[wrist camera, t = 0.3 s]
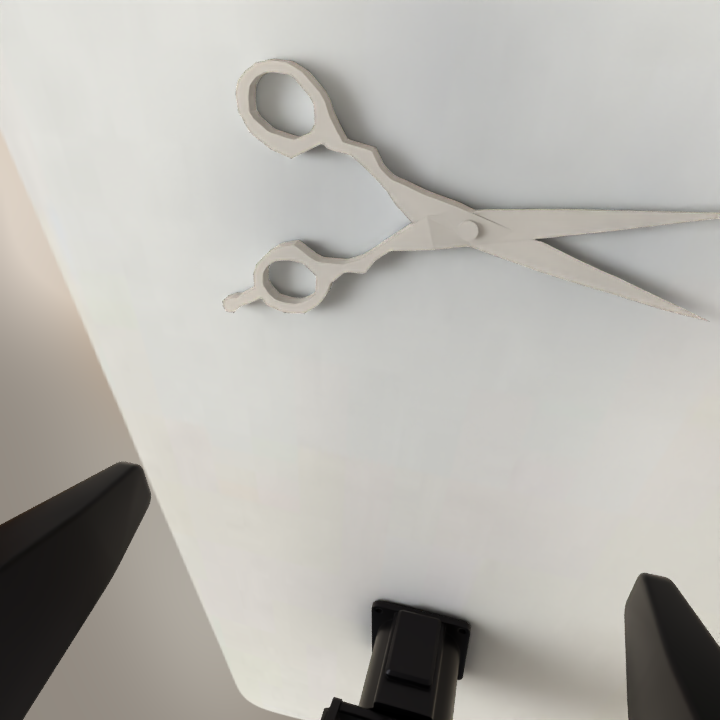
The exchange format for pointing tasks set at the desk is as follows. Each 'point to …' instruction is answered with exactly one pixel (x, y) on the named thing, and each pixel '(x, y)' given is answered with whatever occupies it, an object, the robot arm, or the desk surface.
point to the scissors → (430, 215)
